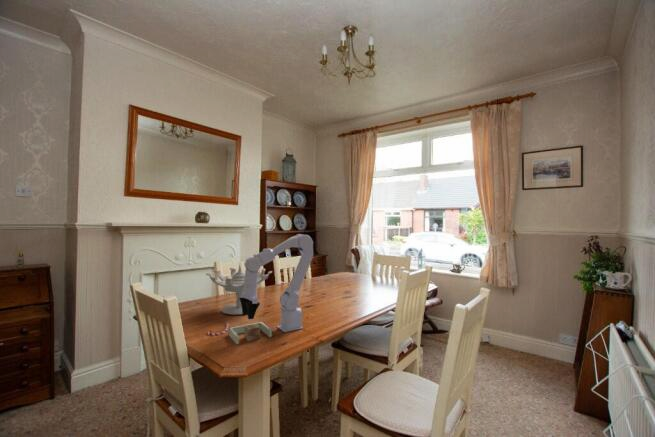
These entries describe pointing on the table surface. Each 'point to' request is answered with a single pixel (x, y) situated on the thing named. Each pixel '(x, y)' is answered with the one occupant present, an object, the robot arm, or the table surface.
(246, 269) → the robot arm
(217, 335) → the candy cane
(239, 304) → the candelabra
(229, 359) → the table surface
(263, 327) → the sage corner frame
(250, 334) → the tan cube
